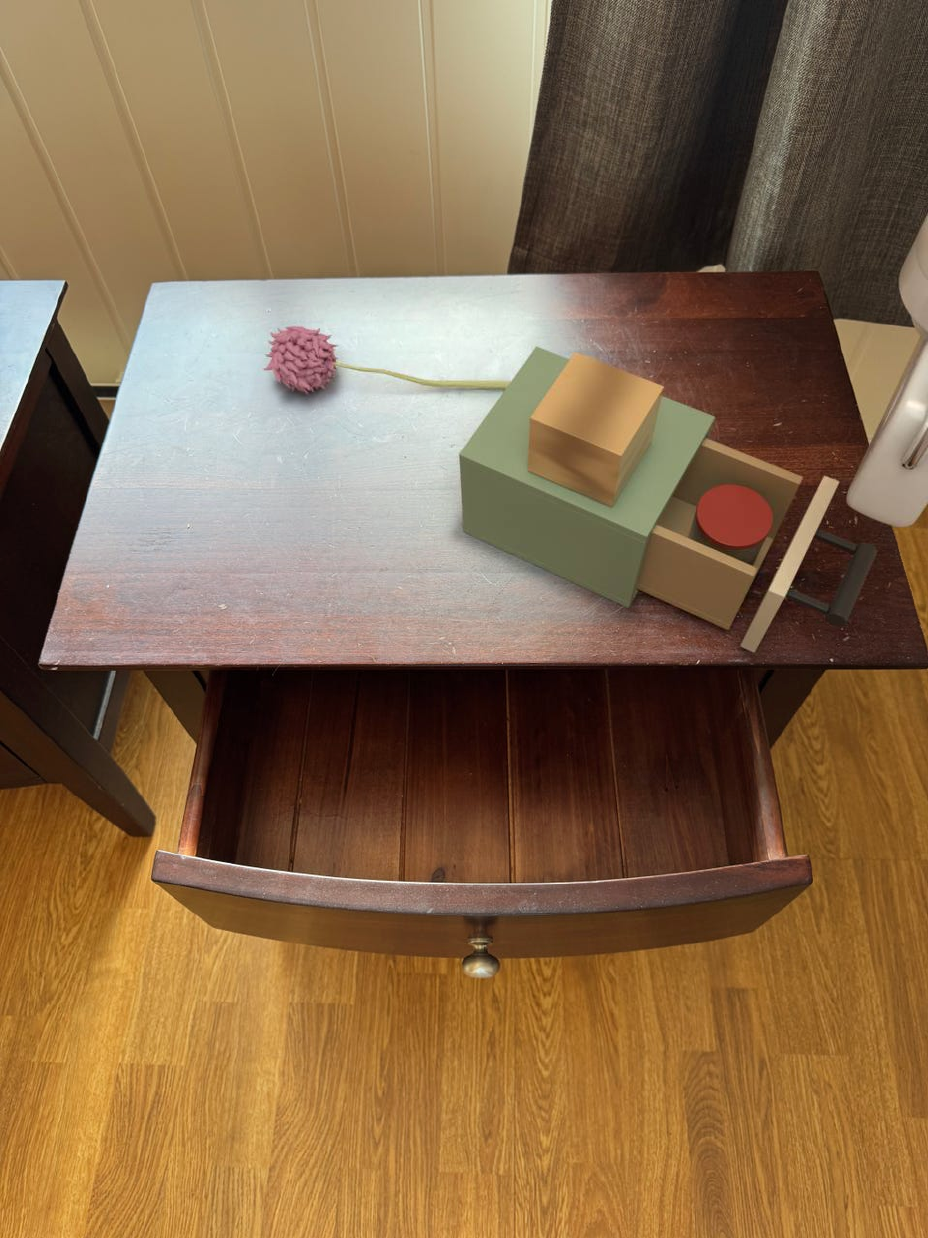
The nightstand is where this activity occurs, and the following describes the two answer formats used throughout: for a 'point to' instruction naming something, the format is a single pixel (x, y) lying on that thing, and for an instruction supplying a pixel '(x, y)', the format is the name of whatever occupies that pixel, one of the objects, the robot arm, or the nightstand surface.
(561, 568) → the cabinet
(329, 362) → the artificial flower
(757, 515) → the tin
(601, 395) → the riser
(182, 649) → the nightstand surface
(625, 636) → the nightstand surface
